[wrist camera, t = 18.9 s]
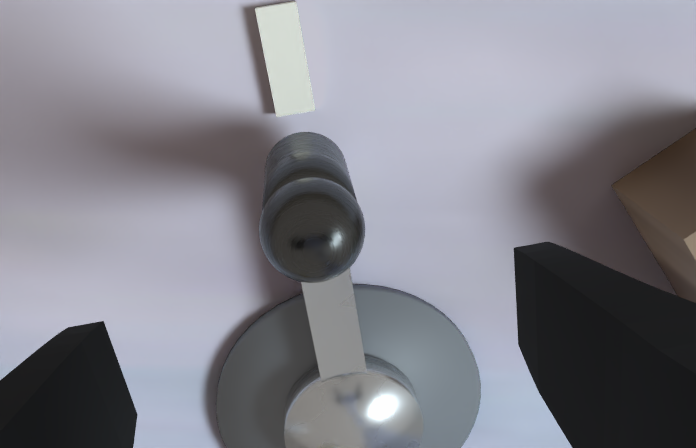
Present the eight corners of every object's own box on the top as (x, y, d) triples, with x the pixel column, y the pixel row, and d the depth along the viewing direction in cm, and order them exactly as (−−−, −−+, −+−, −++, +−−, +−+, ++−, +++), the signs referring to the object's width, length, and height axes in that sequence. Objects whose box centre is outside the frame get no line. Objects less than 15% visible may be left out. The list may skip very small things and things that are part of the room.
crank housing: (485, 471, 27) (488, 480, 27) (248, 515, 27) (247, 525, 26) (444, -25, 19) (447, -23, 19) (105, 32, 19) (100, 35, 18)
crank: (423, 449, 25) (467, 606, 19) (297, 472, 25) (302, 637, 19) (378, 107, 20) (421, 181, 14) (215, 134, 20) (187, 221, 14)
